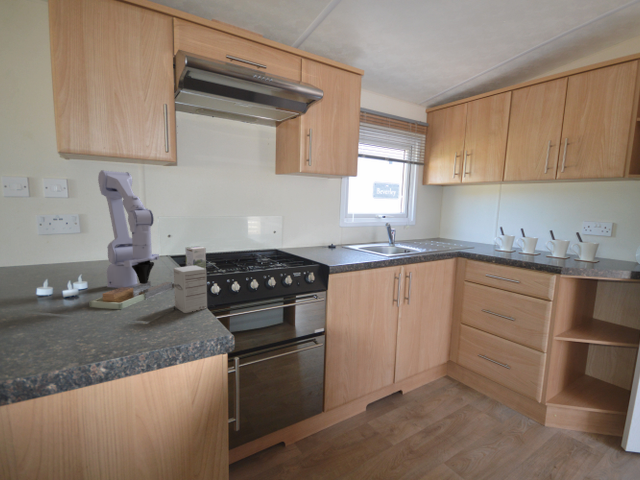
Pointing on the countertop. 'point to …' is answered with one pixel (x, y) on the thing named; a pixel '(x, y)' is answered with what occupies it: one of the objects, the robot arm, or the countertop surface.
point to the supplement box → (190, 288)
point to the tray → (114, 305)
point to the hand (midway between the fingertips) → (143, 283)
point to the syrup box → (196, 256)
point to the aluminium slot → (150, 289)
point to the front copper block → (114, 296)
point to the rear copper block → (127, 292)
